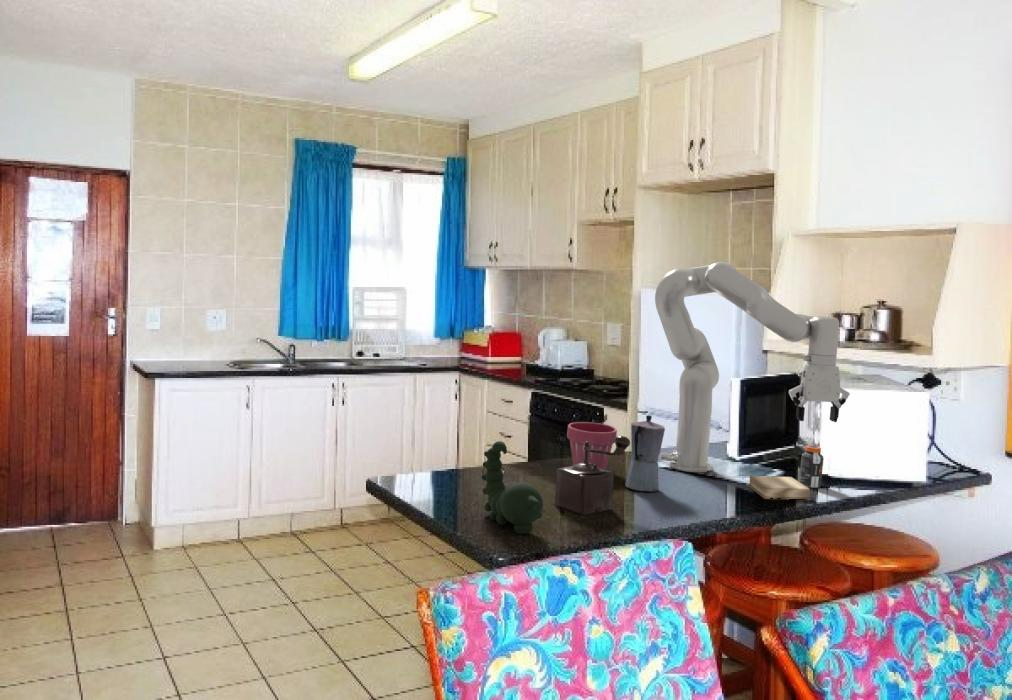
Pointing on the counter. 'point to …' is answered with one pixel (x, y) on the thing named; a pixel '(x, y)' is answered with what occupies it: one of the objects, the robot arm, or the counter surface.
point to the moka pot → (645, 455)
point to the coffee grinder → (587, 483)
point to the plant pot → (591, 441)
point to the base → (778, 487)
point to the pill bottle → (811, 467)
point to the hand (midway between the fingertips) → (816, 420)
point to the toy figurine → (509, 495)
